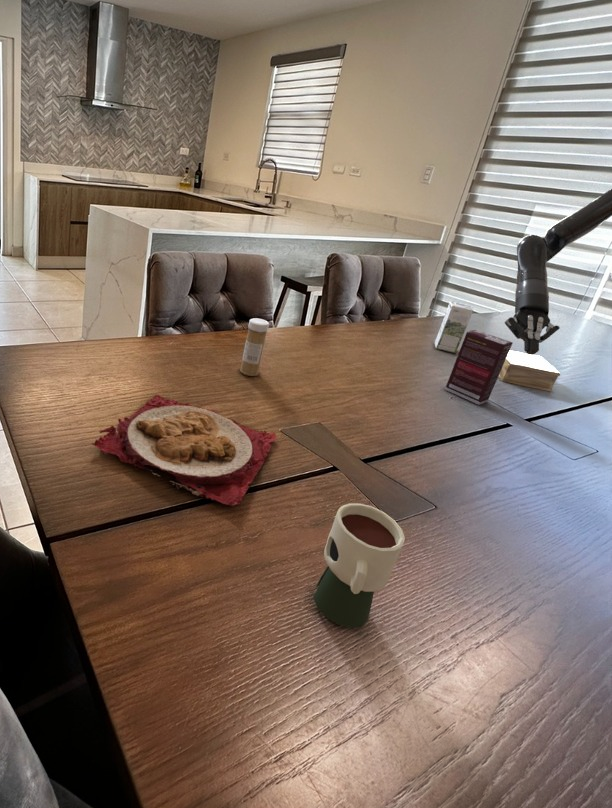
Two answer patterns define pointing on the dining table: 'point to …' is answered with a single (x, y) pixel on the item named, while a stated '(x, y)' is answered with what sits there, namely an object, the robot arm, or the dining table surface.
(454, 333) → the syrup box
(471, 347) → the supplement box
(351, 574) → the character mug
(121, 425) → the plate with food
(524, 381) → the box
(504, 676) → the dining table surface
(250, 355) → the sprinkles bottle
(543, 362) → the box lid
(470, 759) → the dining table surface
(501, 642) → the dining table surface
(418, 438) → the dining table surface
